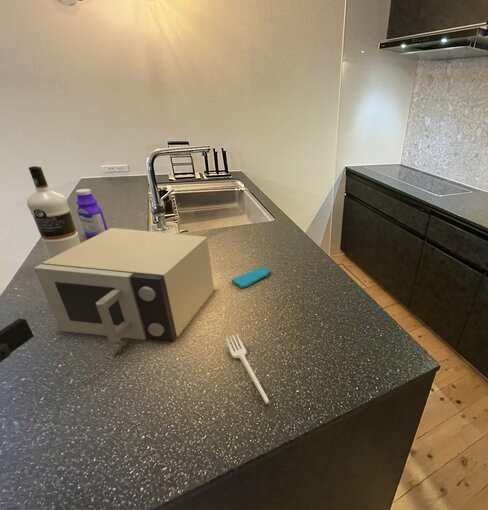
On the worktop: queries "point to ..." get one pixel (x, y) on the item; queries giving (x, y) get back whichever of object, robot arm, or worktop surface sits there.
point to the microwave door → (92, 301)
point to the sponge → (251, 277)
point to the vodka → (51, 216)
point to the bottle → (90, 213)
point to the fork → (245, 364)
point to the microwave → (151, 273)
